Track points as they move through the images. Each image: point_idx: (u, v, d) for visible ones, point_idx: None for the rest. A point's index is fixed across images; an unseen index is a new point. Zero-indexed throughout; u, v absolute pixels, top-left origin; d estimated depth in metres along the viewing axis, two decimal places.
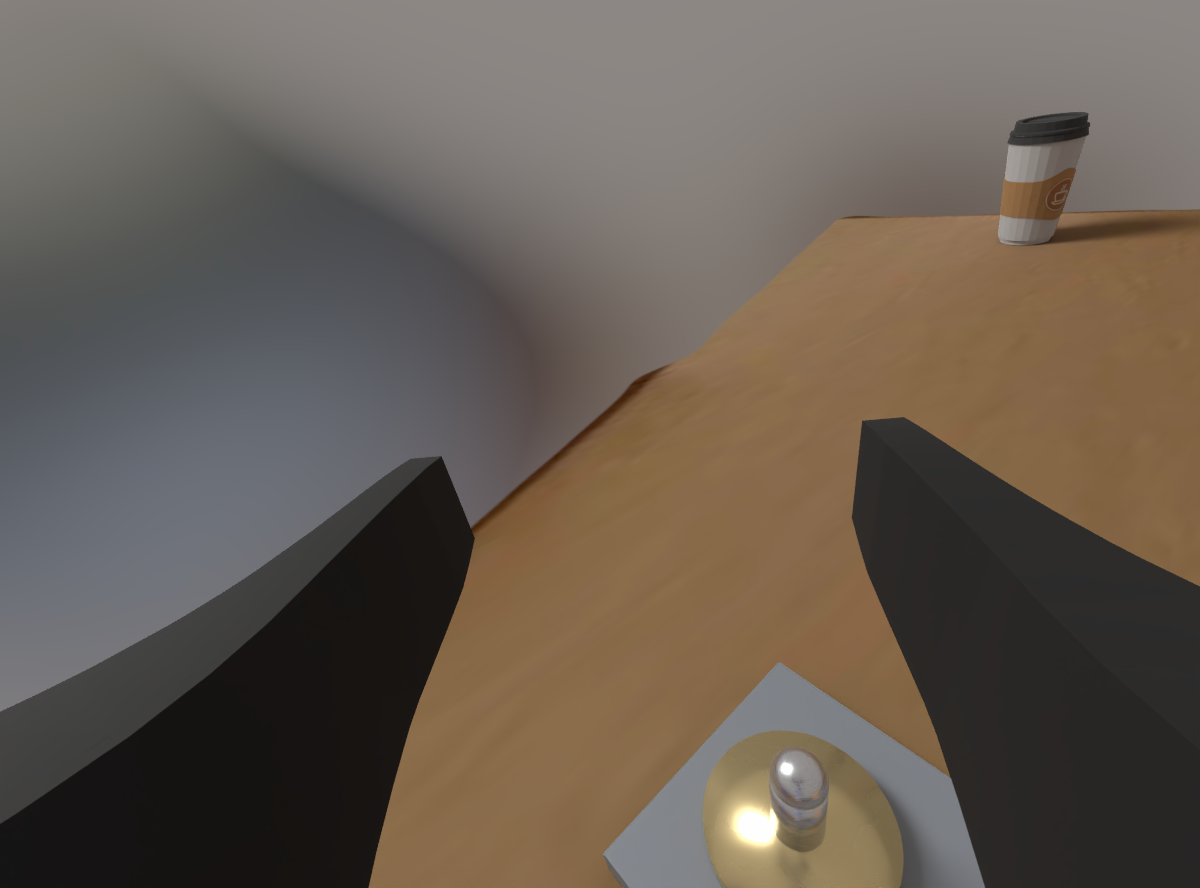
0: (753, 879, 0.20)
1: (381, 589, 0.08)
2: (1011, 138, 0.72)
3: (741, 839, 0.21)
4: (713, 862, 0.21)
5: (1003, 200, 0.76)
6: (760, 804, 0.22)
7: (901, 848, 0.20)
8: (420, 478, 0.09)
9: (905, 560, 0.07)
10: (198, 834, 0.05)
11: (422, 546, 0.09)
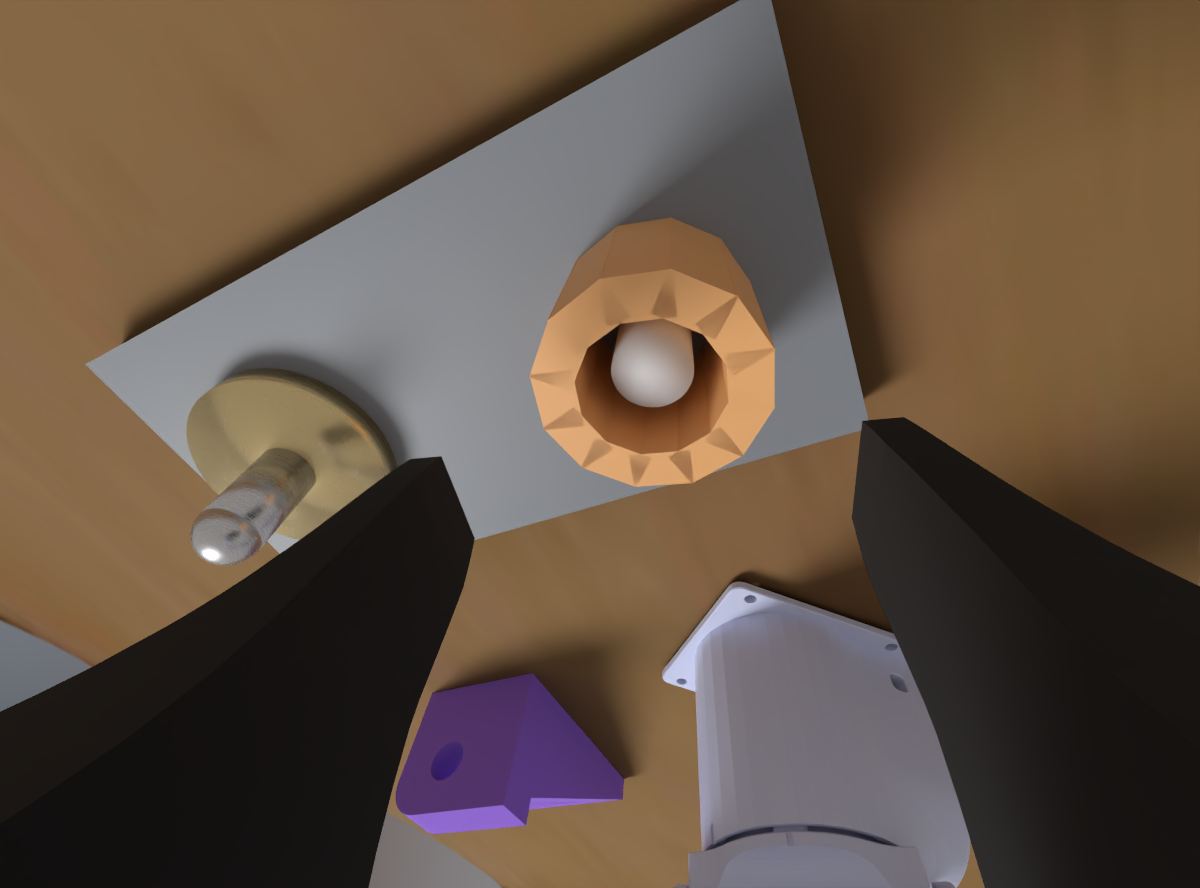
0: None
1: (381, 589, 0.08)
2: None
3: (303, 517, 0.21)
4: None
5: None
6: None
7: (316, 402, 0.18)
8: (420, 478, 0.09)
9: (905, 560, 0.07)
10: (198, 834, 0.05)
11: (422, 546, 0.09)
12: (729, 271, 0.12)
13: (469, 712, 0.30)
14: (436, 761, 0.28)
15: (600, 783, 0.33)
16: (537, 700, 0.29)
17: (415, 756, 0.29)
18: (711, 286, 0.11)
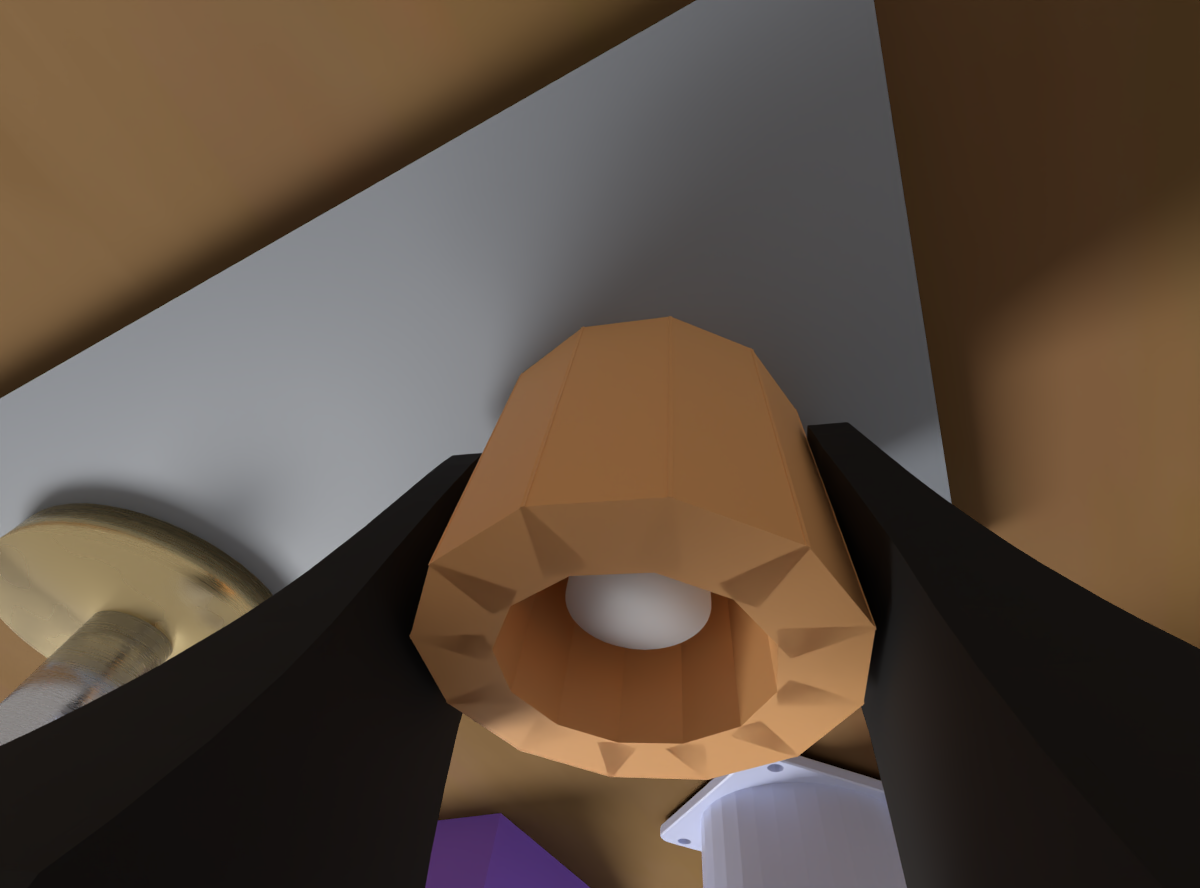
0: None
1: None
2: None
3: None
4: None
5: None
6: None
7: (150, 561, 0.12)
8: (465, 475, 0.09)
9: None
10: (275, 839, 0.05)
11: None
12: (779, 451, 0.07)
13: None
14: None
15: None
16: (505, 850, 0.23)
17: None
18: (755, 529, 0.05)
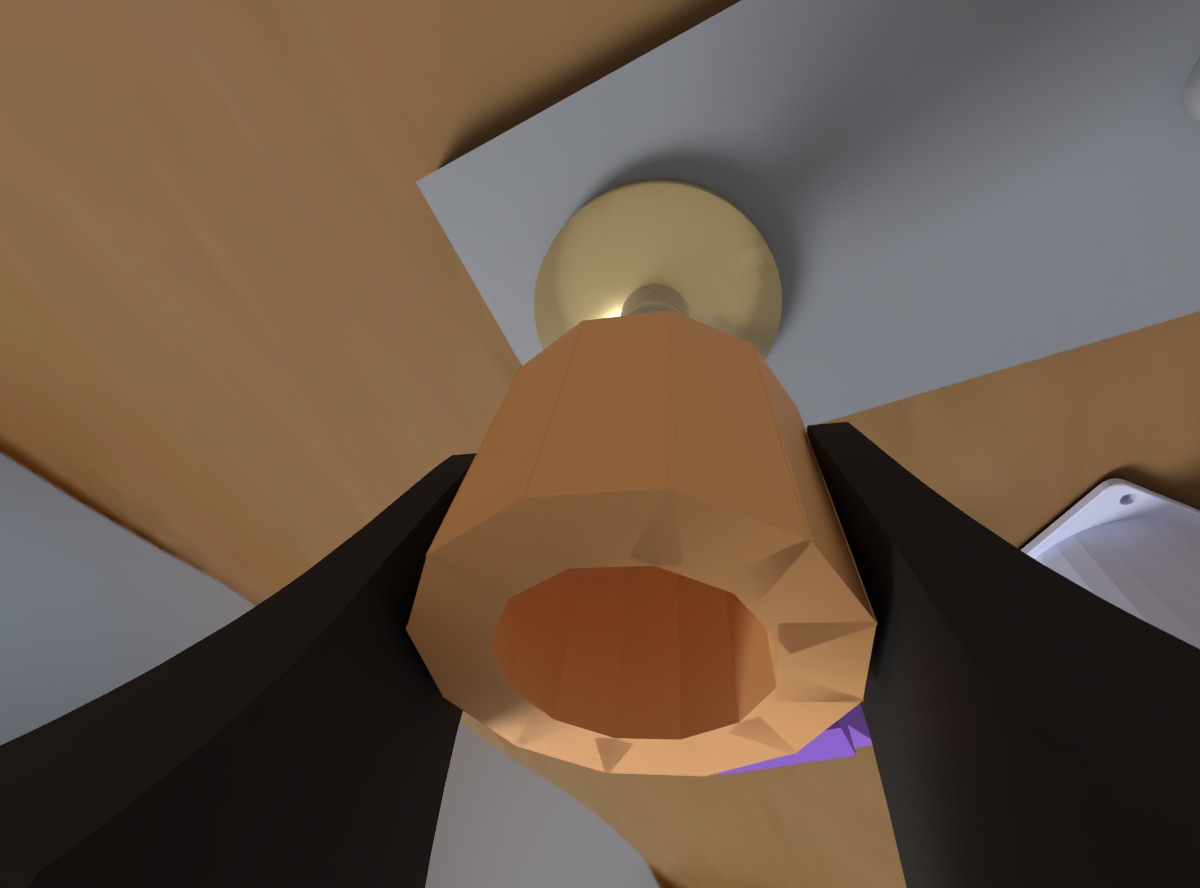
0: None
1: None
2: None
3: None
4: None
5: None
6: None
7: (737, 212, 0.14)
8: (465, 475, 0.09)
9: None
10: (275, 838, 0.05)
11: None
12: (781, 445, 0.07)
13: None
14: None
15: None
16: None
17: None
18: (757, 521, 0.05)
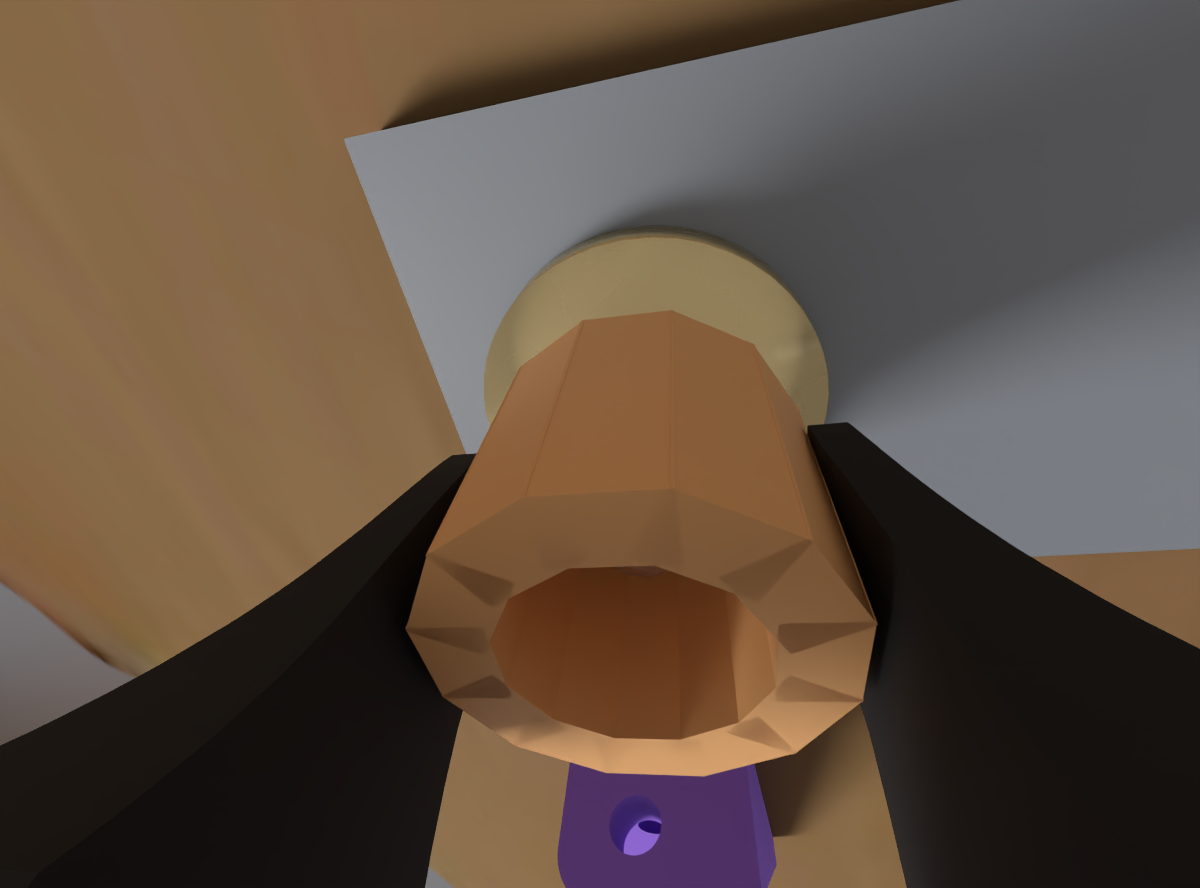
0: None
1: None
2: None
3: None
4: None
5: None
6: None
7: (800, 311, 0.10)
8: (465, 475, 0.09)
9: None
10: (275, 839, 0.05)
11: None
12: (781, 445, 0.07)
13: None
14: (612, 822, 0.20)
15: (771, 848, 0.25)
16: None
17: (577, 810, 0.20)
18: (758, 521, 0.05)
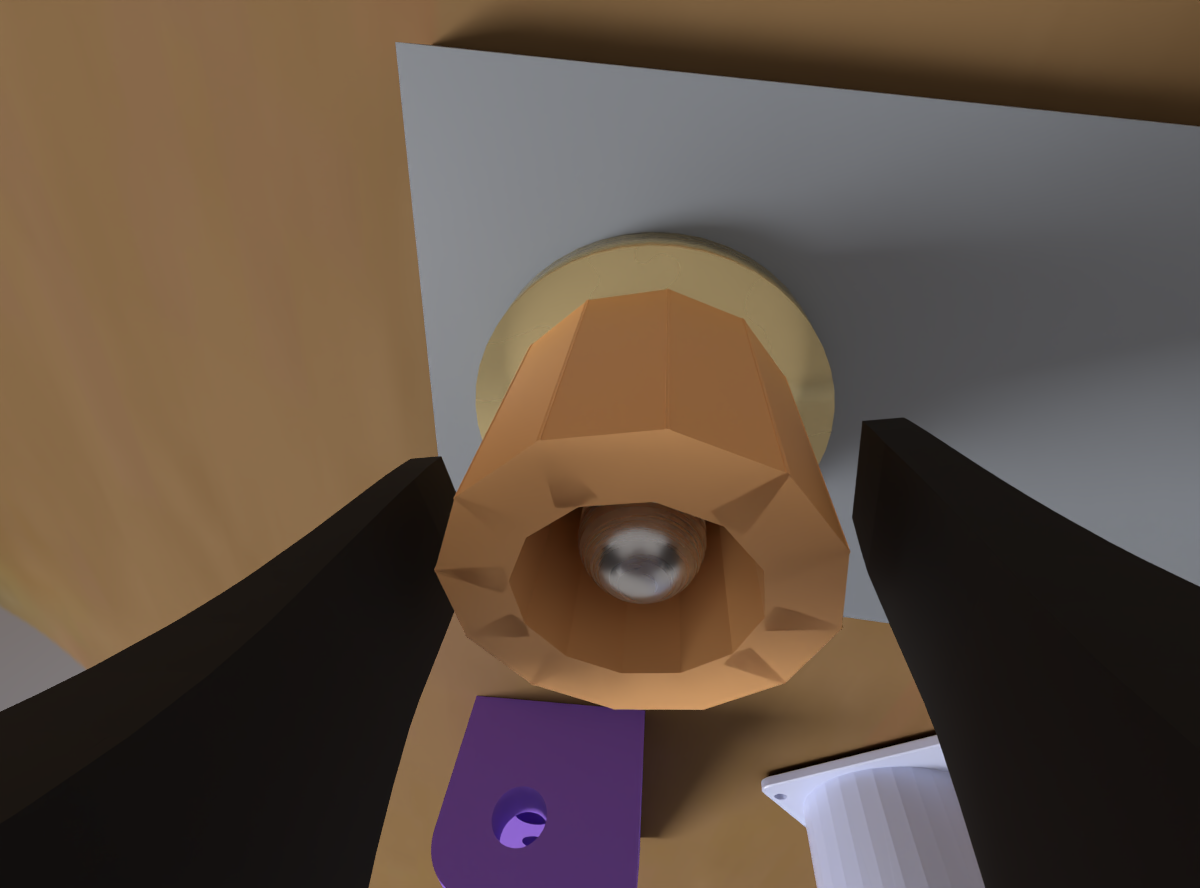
0: None
1: (381, 589, 0.08)
2: None
3: None
4: None
5: None
6: None
7: (826, 364, 0.10)
8: (420, 478, 0.09)
9: (905, 560, 0.07)
10: (198, 834, 0.05)
11: (422, 546, 0.09)
12: (766, 401, 0.07)
13: (547, 744, 0.21)
14: (495, 811, 0.19)
15: None
16: None
17: (461, 794, 0.19)
18: (741, 457, 0.06)
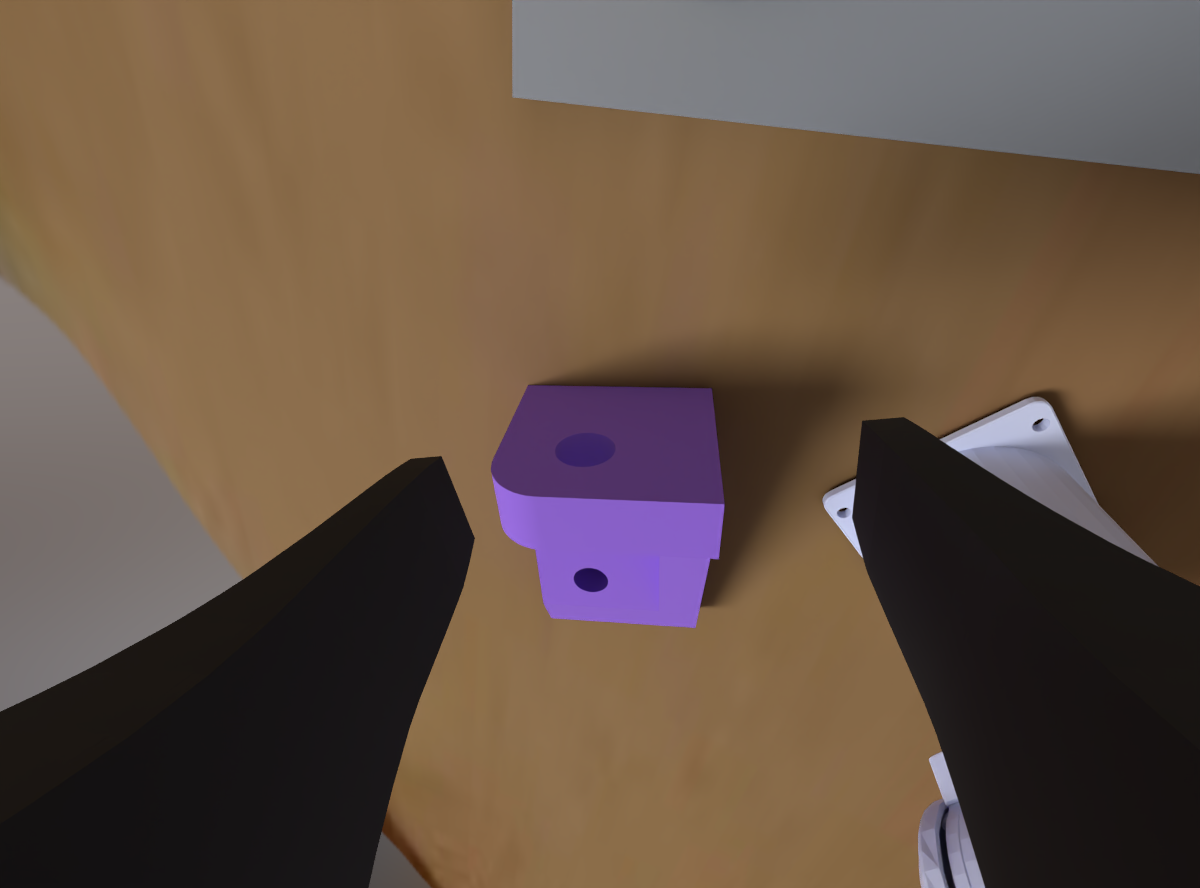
0: None
1: (381, 589, 0.08)
2: None
3: None
4: None
5: None
6: None
7: None
8: (420, 478, 0.09)
9: (905, 560, 0.07)
10: (198, 834, 0.05)
11: (422, 546, 0.09)
12: None
13: (609, 409, 0.19)
14: (557, 452, 0.18)
15: None
16: None
17: (519, 439, 0.18)
18: None
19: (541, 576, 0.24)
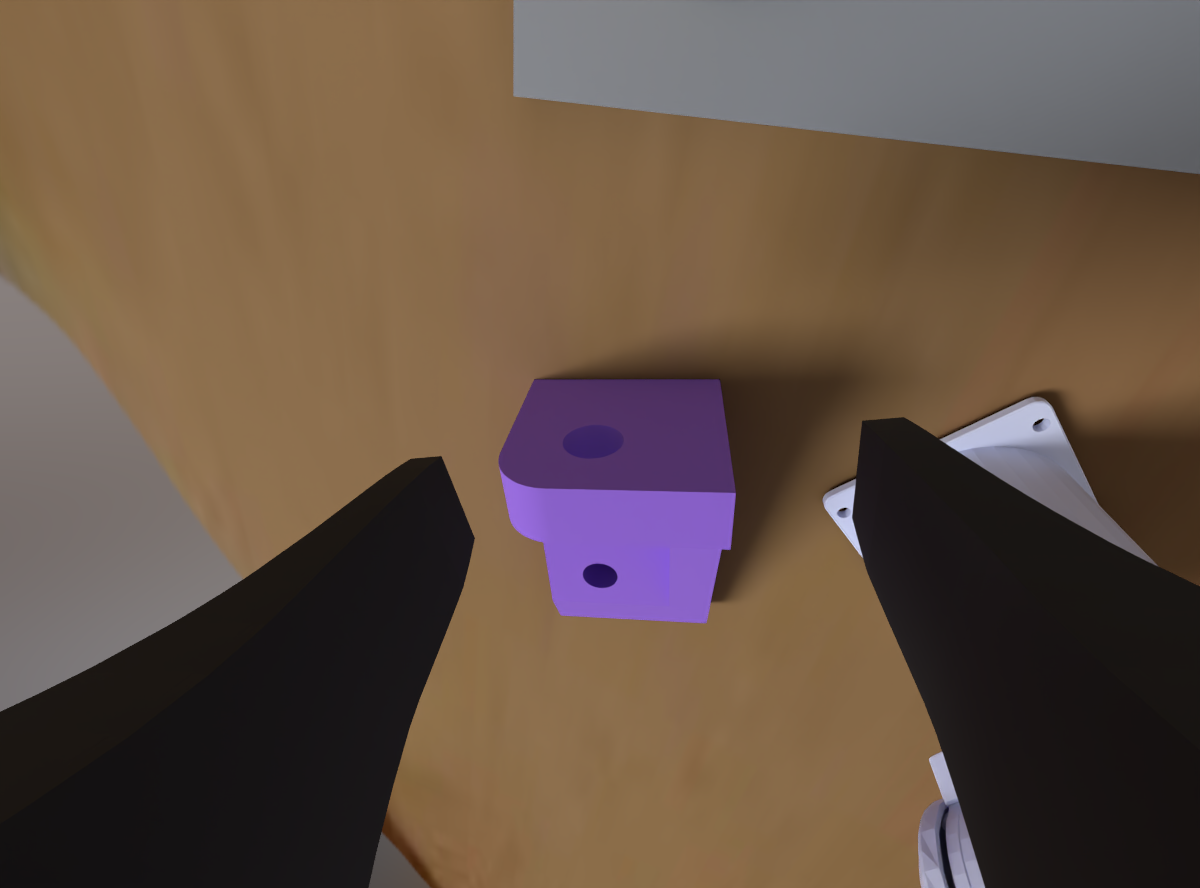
0: None
1: (381, 589, 0.08)
2: None
3: None
4: None
5: None
6: None
7: None
8: (420, 478, 0.09)
9: (905, 560, 0.07)
10: (198, 834, 0.05)
11: (422, 546, 0.09)
12: None
13: (616, 401, 0.19)
14: (565, 444, 0.17)
15: None
16: None
17: (526, 432, 0.18)
18: None
19: (550, 572, 0.24)
